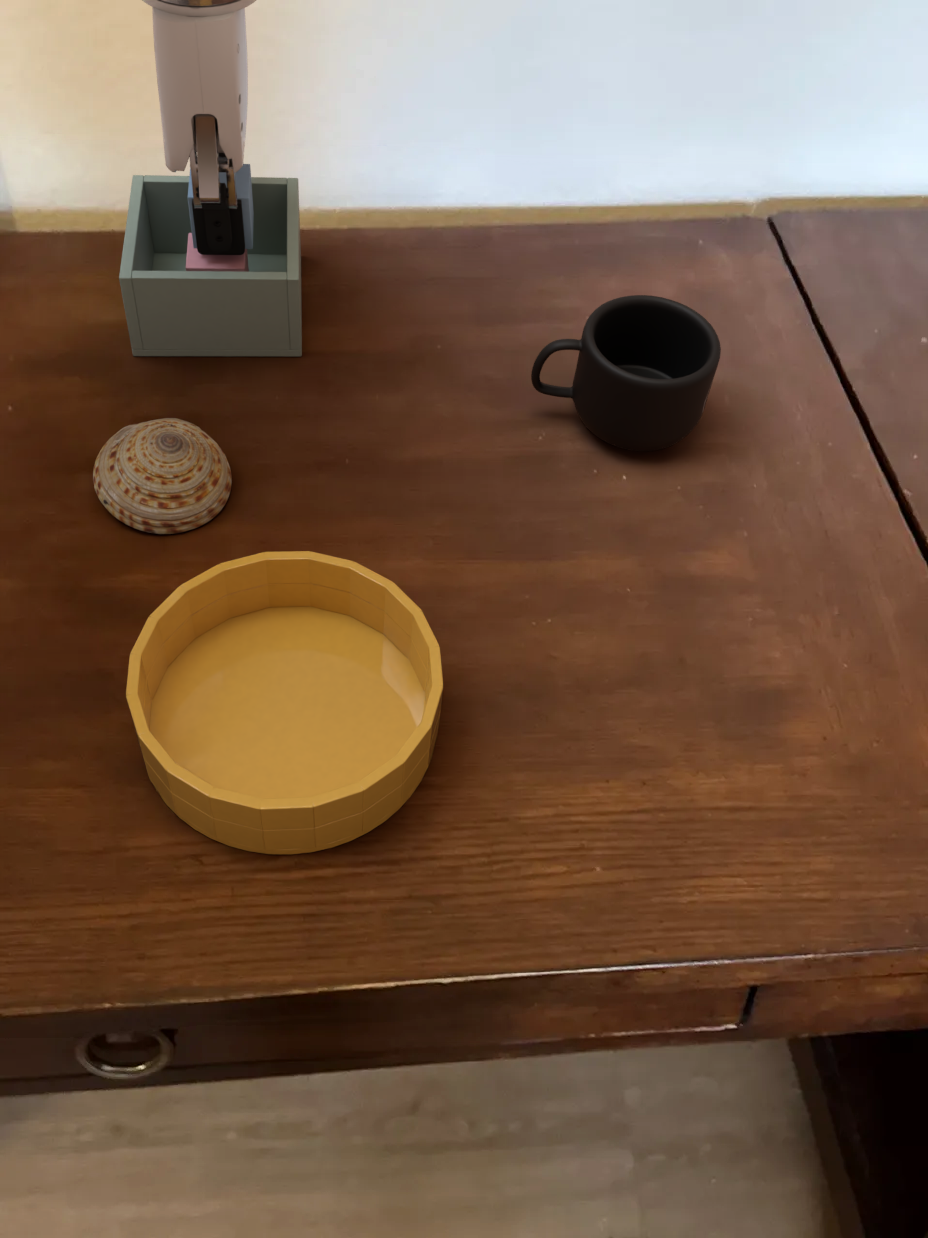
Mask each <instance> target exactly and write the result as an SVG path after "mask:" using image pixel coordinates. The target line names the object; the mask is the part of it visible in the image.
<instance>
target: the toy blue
mask: <svg viewBox="0 0 928 1238" xmlns="http://www.w3.org/2000/svg"><path fill="white" fill-rule="evenodd" d="M188 176H189V187H188V205H189V213H190V222H191V230H192V239H193V247H194V248H197V243H196V235H195V226H194V218H193V210H192V199H193V189H192V178H191V169H190V168H189V175H188ZM235 176H236V190H237V200H241V201H242V213H243V225H244V238H245V249H253V222H254V211H253V197H252V183H251V177H252V169H251V163H243V166H242V167H241V169H240V170H239V171H237V172H236V173H235ZM219 178H220V183H225V184H226V187H227V179H226V172H219Z"/></svg>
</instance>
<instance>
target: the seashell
mask: <svg viewBox="0 0 928 1238" xmlns="http://www.w3.org/2000/svg"><path fill="white" fill-rule="evenodd" d="M232 476H233V475H232V471H231V466H230V463H229V461H228V459H227V456H226V454H225V453H224V450H223V449H222V448H221V447H220V446H219V444H218V443H217V442H216V441H215V440H214V439H213V437H211V436H210V435H209V434H208V433H207V432H205V431H204V430H202V429H201V428H200V426H197V425H196V424H194V423H192V422H189V421H187V420H183V419H181V418H177V417H164V418H158V419H153V420H148V421H142V422H139V423H133V424H129V425H126V426H124V427H122V428H121V429H119V430H118V431H117V432H116V433H114V434H113V435H111V437H109V439H108V440H106V442H105V443H104V444H103V446H102V447H101V449H100V451H99V453H98V454H97V456H96V459H95V461H94V466H93V471H92V481H93V485H94V486H93V488H94V492H95V493H96V496H97V498H98V500H99V501H100V503H101V504H102V505H103V506H104V508H105V509H106V510H107V511H108V512H109V514H111V516H113V517H114V518H116V519H117V520H118V521H120V522H122V523H123V524H125V525H126V526H128V527H131V528H133V529H135V530H138V531H141V532H145V533H151V534H157V535H171V534H172V535H173V534H174V535H175V534H181V533H184V532H188V531H191V530H194V529H198V528H199V527H201V526H203V525H205V524H207V523H209V522H210V521H211V520H212V519H214V518H215V517H216V516H217V515H218V514H220V512H221V511H222V510H223V508H224V507H225V505H226V503H227V501H228V499H229V497H230V494H231V490H232V483H233V482H232V481H233V479H232V478H233V477H232Z"/></svg>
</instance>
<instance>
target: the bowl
mask: <svg viewBox="0 0 928 1238" xmlns="http://www.w3.org/2000/svg"><path fill="white" fill-rule="evenodd" d="M441 653H442V652H441V647H440V644H439V642H438V640H437V637H436V636H435V634H434V632H433V630H432V628H431V626H430V624H429V621H428V620H427V618H426V616H425V613H424V612H423V610H422V609H421V608H420V607H419V605H417V604H416V603H415V602H414V601H413V599H411V598H410V597H409V595H407V594H406V593H405V592H404V590H402V589H401V588H400V587H399V586H398V585H397V584H396V583H395V582H394V581H392V580H390V579H389V578H387V577H385V576H383V575H381V574H379V573H377V572H375V571H373V570H371V569H370V568H368V567H366V566H364V565H363V564H360V563H358V562H357V561H354V560H349V559H345V558H342V557H338V556H333V555H329V554H324V553H321V552H320V553H319V552H317V551H311V550H303V551H302V550H293V551H292V550H291V551H262V552H258V553H254V554H251V555H247V556H243V557H240V558H235V559H232V560H231V559H230V560H227V561H223V562H220V563H217V564H215V565H214V566H212V567H210V568H209V569H206V570H205V571H204V572H201V573H199V574H198V575H196V576H195V577H192V578H191V579H189V580H187V581H185V582H183V583H181V584H180V585H179V586H178V587H177V588H175V590H173V591H172V593H171V594H170V595H169V596H167V598H165V600H164V601H163V602H162V603H160V604H159V606H157V607H156V608H155V609H154V611H152V613H150V615H148V617H147V619H146V621H145V623H144V625H143V627H142V630H141V631H140V632H139V635H138V637H137V640H136V641H135V643H134V646H133V647H132V648H131V651H130V653H129V658H128V667H127V668H128V669H127V677H126V678H127V679H126V689H125V698H126V699H125V700H126V702H127V705H128V710H129V714H130V717H131V721H132V726H133V729H134V733H135V736H136V741H137V744H138V747H139V749H140V750H139V751H140V753H141V757H142V761H143V763H144V767H145V770H146V774H147V776H148V779H149V781H150V782H151V783H152V785H153V787H154V789H155V791H156V792H157V794H158V795H159V796H160V798H161V799H162V801H163V802H164V803H165V805H166V806H167V807H168V808H169V809H170V810H171V811H172V812H173V813H174V814H175V815H176V817H178V818H179V819H180V820H181V821H183V822H184V823H185V824H187V825H188V826H189V827H191V828H192V829H193V830H195V831H197V832H198V833H200V834H202V835H203V836H206V837H207V838H209V839H211V840H213V841H216V842H218V843H220V844H223V845H225V846H228V847H231V848H235V849H238V850H243V851H245V852H252V853H258V854H266V855H298V854H307V853H314V852H318V851H323V850H329V849H332V848H335V847H338V846H341V845H343V844H346V843H349V842H351V841H354V840H356V839H357V838H359V837H362V836H364V835H366V834H367V833H369V832H371V831H373V830H374V829H376V828H377V827H378V826H380V825H382V824H383V823H385V822H386V821H387V820H388V819H389V818H391V817H392V816H393V815H394V814H395V813H397V812H398V811H399V810H400V809H401V808H402V806H404V804H405V803H406V802H407V801H408V800H409V799H410V798H411V797H412V795H413V794H414V793H415V791H416V789H418V786H419V785H420V783H421V782H422V781H423V778H424V776H425V774H426V772H427V770H428V768H429V765H430V763H431V760H432V757H433V753H434V751H435V745H436V741H437V738H438V734H439V727H440V720H441V710H442V702H443V694H444V693H443V692H444V678H443V676H444V675H443V666H442V656H441Z"/></svg>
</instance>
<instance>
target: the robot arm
mask: <svg viewBox="0 0 928 1238" xmlns="http://www.w3.org/2000/svg"><path fill="white" fill-rule="evenodd" d="M141 1H142V2H143V3H145V4H146V5H148V6H149V7H151V9H152V11H151V13H152V33H153V34H152V35H153V49H154V60H155V62H154V63H155V72H156V79H157V80H156V81H157V83H156V84H157V93H158V102H159V111H160V120H161V121H160V122H161V130H162V141H163V153H164V164H165V167H166V168H167V169H168V170H169V171H170V172H171V173H177V172H185V170H186V167H187V165H188V162H189V170H190V169H191V178H192V189H193V199H192V210H193V218H194V226H195V235H196V243H197V251H198V252H199V253H200V254H202V255H242V254H244V252H245V238H244V225H243V213H242V201H241V200H237V190H236V176H235V173H236V172H237V171H239V170H240V169H241V167H242V166H243V164H244V158H245V146H246V134H247V121H248V120H247V119H248V104H249V103H248V102H249V101H248V100H249V98H248V97H249V69H248V68H249V66H248V65H249V64H248V43H247V42H248V41H247V25H246V24H247V23H246V21H247V20H246V8H248V7H249V6H251V5H252V4H254V3H256V1H257V0H141ZM219 172H226V179H227V187H226V184H225V183H220V178H219Z"/></svg>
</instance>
